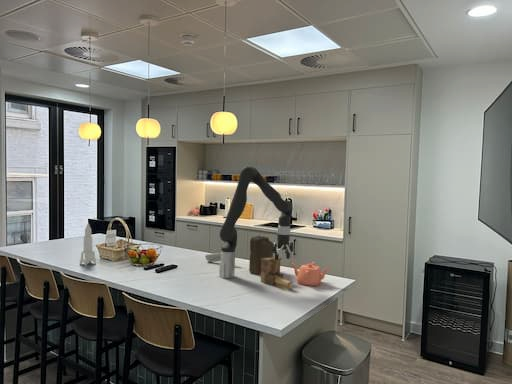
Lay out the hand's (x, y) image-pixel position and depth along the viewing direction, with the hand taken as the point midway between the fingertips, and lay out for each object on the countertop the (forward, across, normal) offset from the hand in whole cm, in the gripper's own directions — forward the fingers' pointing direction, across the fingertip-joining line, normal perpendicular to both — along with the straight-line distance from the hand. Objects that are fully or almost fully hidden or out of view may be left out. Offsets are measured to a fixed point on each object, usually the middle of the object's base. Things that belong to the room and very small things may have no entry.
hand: (282, 259), depth 229 cm
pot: (+17, +21, -2) cm, 27 cm away
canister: (+18, +8, +34) cm, 39 cm away
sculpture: (+19, -92, +106) cm, 142 cm away
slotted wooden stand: (+17, 0, +9) cm, 19 cm away
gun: (+18, -7, +66) cm, 69 cm away
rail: (+17, 0, 0) cm, 17 cm away
